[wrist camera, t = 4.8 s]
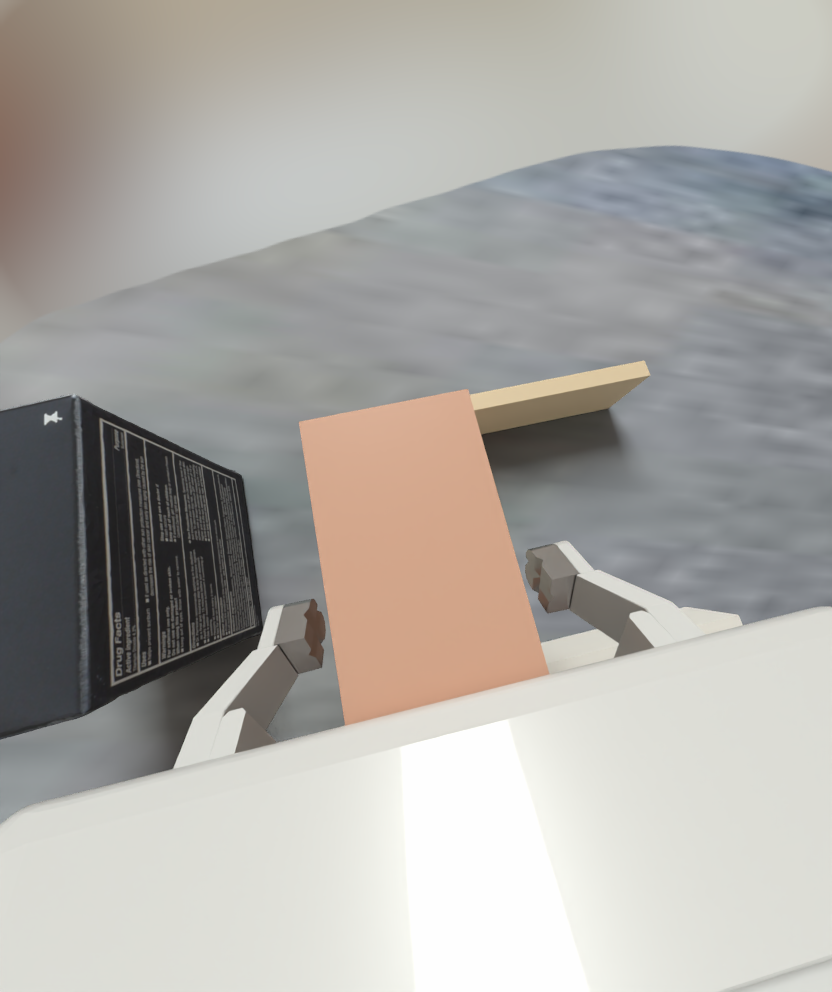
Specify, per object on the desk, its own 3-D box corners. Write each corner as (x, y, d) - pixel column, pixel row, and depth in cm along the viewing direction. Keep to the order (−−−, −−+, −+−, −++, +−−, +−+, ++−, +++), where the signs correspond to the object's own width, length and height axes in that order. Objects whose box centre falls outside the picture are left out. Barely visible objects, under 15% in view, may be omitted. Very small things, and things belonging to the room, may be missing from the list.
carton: (387, 628, 19) (346, 733, 7) (363, 503, 21) (298, 421, 9) (469, 608, 19) (559, 678, 7) (439, 486, 21) (474, 387, 9)
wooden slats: (375, 713, 18) (365, 755, 14) (330, 451, 21) (312, 425, 17) (695, 631, 19) (768, 649, 15) (603, 396, 22) (644, 360, 19)
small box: (145, 494, 20) (-121, 425, 10) (243, 471, 21) (82, 383, 11) (156, 663, 18) (-167, 788, 8) (266, 633, 19) (91, 717, 8)
